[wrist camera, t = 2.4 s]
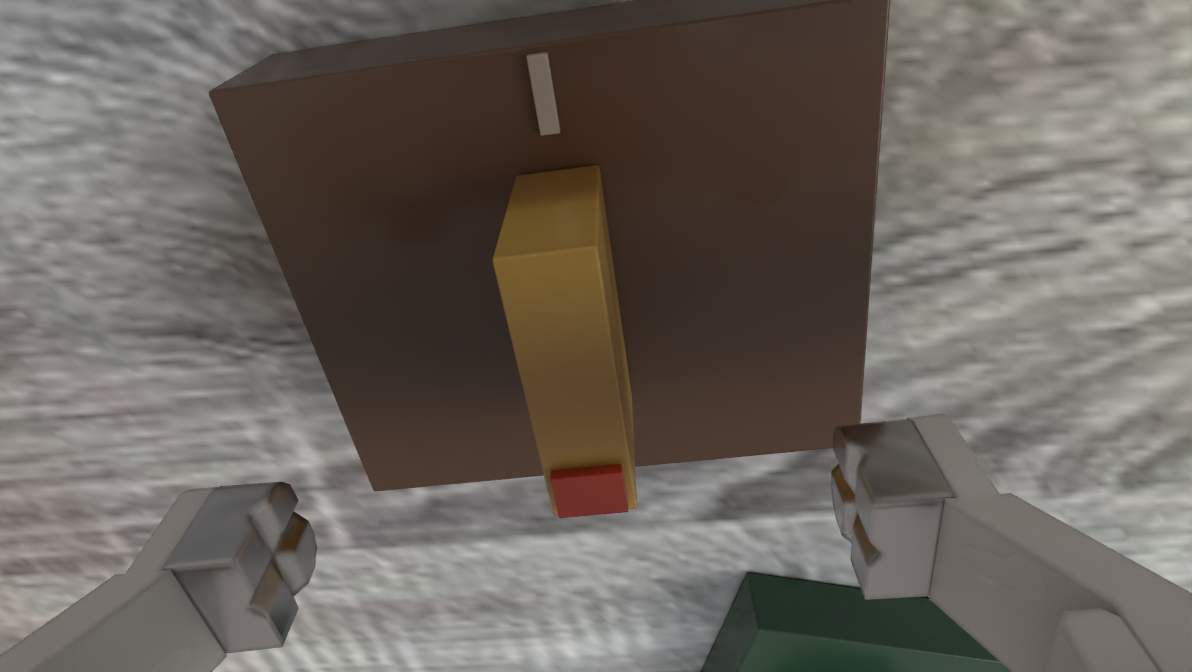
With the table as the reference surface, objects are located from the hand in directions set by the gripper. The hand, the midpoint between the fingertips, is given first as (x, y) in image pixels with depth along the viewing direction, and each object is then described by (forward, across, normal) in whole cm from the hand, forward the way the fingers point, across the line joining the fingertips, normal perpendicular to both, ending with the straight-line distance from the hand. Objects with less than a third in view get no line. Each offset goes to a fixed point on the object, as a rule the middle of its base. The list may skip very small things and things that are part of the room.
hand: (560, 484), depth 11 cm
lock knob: (+5, 0, 0) cm, 5 cm away
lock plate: (+8, 0, 0) cm, 8 cm away
